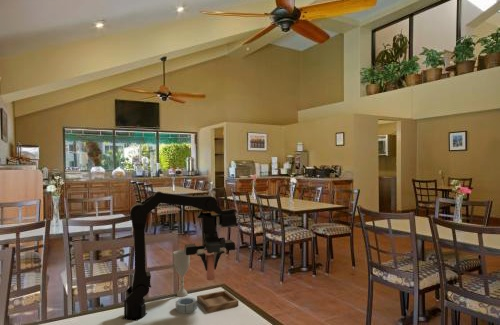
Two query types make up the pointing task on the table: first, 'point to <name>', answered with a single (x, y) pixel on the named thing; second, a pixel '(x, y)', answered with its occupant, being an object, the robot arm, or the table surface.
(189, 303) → the grey hex nut
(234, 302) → the tray
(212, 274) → the dowel
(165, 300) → the table surface
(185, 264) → the chalice
